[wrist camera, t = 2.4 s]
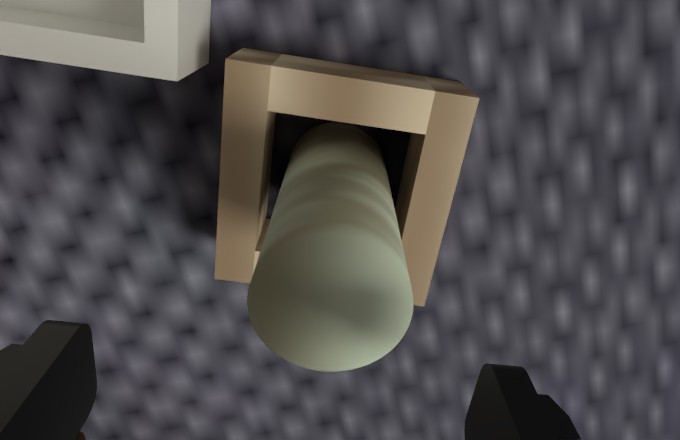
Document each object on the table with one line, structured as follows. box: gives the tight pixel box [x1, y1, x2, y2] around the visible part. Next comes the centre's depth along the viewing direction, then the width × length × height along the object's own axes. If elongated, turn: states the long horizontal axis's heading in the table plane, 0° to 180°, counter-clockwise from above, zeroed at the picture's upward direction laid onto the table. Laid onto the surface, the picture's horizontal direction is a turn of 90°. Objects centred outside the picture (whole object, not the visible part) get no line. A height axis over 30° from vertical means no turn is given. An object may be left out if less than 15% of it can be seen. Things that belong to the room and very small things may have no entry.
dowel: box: [247, 122, 413, 371], centre depth 17 cm, size 4×4×10 cm
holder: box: [215, 48, 479, 306], centre depth 20 cm, size 8×8×3 cm
